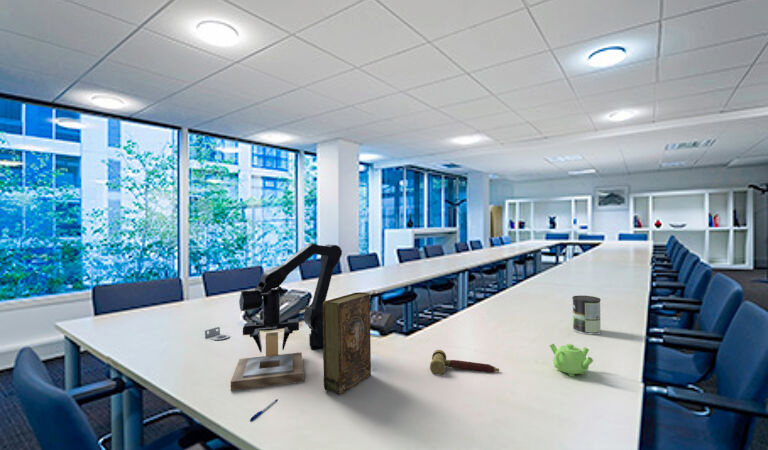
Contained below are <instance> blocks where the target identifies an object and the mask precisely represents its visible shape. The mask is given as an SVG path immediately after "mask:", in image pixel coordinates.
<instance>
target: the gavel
mask: <svg viewBox="0 0 768 450" xmlns="http://www.w3.org/2000/svg"><path fill="white" fill-rule="evenodd" d="M431 356H432V357H431V362H430V365H429V366H430V367H429V369H430V371H431V373H432V374H433V375H437V374H442V375H443V374H444V373H445V372H446V367H447V368H451V369H455V370H462V371H463V370H464V371H470V372H477V371H478V373H487V374H488V373H489V374H490V373H496V372H497V373H498V372H500V368H499V367H496V366H493V365H491V364H489V363H488V364H487V363H481V362H474V361H473V362H472V361H464V360H457V359H447V354H446V352H445V351H444V350H442V349H436V350H434V352H433V353H432V355H431Z"/></svg>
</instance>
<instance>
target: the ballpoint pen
mask: <svg viewBox="0 0 768 450" xmlns="http://www.w3.org/2000/svg"><path fill="white" fill-rule="evenodd" d="M277 402H278V399H277V398H276V399H274V400H273V401H271V402H270V403H269V404H268V405H267V406H265V407H264V408H263V409H261V410H260V411H257V412H256V413H255V414H253V415H252V417H250V419H249V422H253V421H254V420H256V419H257V418H258V417H260V416H261V415H262V414H263V413H264V412H266V411H267V410H269V408H271V407H272V406H273V405H274V404H276V403H277Z"/></svg>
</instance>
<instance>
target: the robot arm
mask: <svg viewBox="0 0 768 450" xmlns="http://www.w3.org/2000/svg"><path fill="white" fill-rule="evenodd" d="M342 254H343V250H342V248H341V247H340V246H339V245H336V244H325V245H320V244H317V243H310V242H309V243H307V244H306V245H305V246H303V248H301V249H300V250H299V251H297V252H295V254H293V255H292V256H290V257H289V258H288V259H286V260H285V261H284V262H283V263H281V264H280V265H277V266H275V267H272V268H270V269H269V270H267V271H265V272H263V273H262V275H261V277H260V280H259V282H258V284H257V285H256V287H254V289H250V290H240V295H239V296H240V297H239V309H240V311H241V312H245V311H246V312H247V311H253V310H258V309H260V308H261V307H262V310H260V312H259V319H260V321H262V322H263V323H262V324H257V322H256V321H255V322H246V323H244V325H243V327H242V336H249V337H250V338H252V339H253V340H254V341H255V343H256V345H257V348H258V350H259V352H260V354H261V353H262V352H263V351H262V349H263V347H262V340H261V331H266V330H267V331H269V330H281V329H283V338H282V339H283V340H282V348H281V349H282V351H284V350H285V346H286V344H287V341H288V339H289V336H290V334H293V333H294V332H295V331H296V332H297V331H299V330H300V321H299V319H298V318H295V319H294V318H292V319H287V322H281V303H280V302H281V299H280V298H281V295H280V294H286V290H284V289H283V288H282V287H281V284H282V283H284V282H285V280H286V279H287V278H288V276H289V274H291V273H292V272H293V271H294V270H295V269H297V268H299V266H301V265H302V264H303V263H305V262H306V261H307V260H309V259H310V258H311V257H312V256H314V255H318V256H320V261H321V263H320V264H321V268H320V272H319V276H318V278H317V279H318V280H317V283H316V287H315V291H314V295H313V298H312V302H311V303H310V304H309V306H308V305H305V307H304V313H303V314H302V317H303V322H304V323H305V325H306V326H308V329H309V330H310V333H309V334H308V337H309V340H308V343H309V348H310V349H311V350H319V349H322V350H323V302H324V301H327V300H326V299H327V296H328V291H329V289H330V284H331V280H332V276H333V273H334V270H335V268H336V267H337V265H338V263H340V259H341V257H342Z"/></svg>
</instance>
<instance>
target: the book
mask: <svg viewBox="0 0 768 450" xmlns="http://www.w3.org/2000/svg"><path fill="white" fill-rule="evenodd" d="M370 296H371V294H370V293H368V292H358V291H357V292H352V293H350V294H346V295H342V296H339V297H335V298H331V299H327V300H325V301H324V302H323V348H322V350H323V352H322V355H323V356H322V357H323V390H324V391H326V392H328V391H330V392H335V393H337V394H338V395H339V396H343V395H344V394H346V393H348V392H349V391H351V390H352V389H354V388H356V387H357V386H359V384H361V382H362V383H363V382H365V381H366V380H368V379H369V378H371V377H370V376H372V360H371V359H372V356H371V355H372V353H371V352H372V351H371V350H372V349H371V346H372V345H371V300H370V299H371V297H370ZM367 378H368V379H367ZM364 380H365V381H364Z"/></svg>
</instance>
